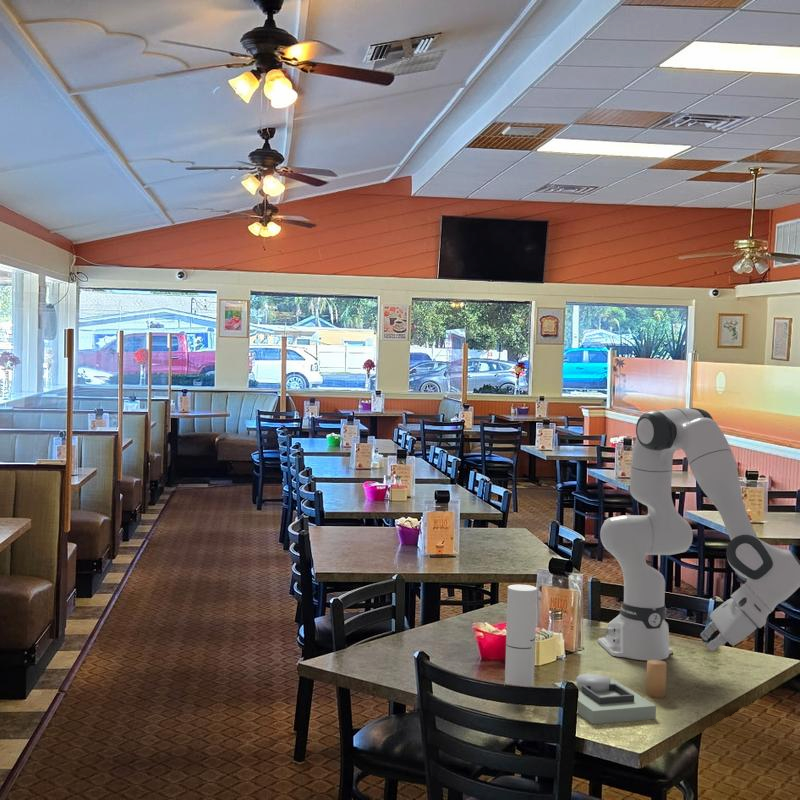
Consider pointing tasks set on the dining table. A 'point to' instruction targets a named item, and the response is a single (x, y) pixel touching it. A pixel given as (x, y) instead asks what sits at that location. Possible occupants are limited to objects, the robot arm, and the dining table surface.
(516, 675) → the cylindrical container
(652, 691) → the orange cylinder
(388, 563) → the dining table surface
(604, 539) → the robot arm
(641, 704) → the stepped grey tray
